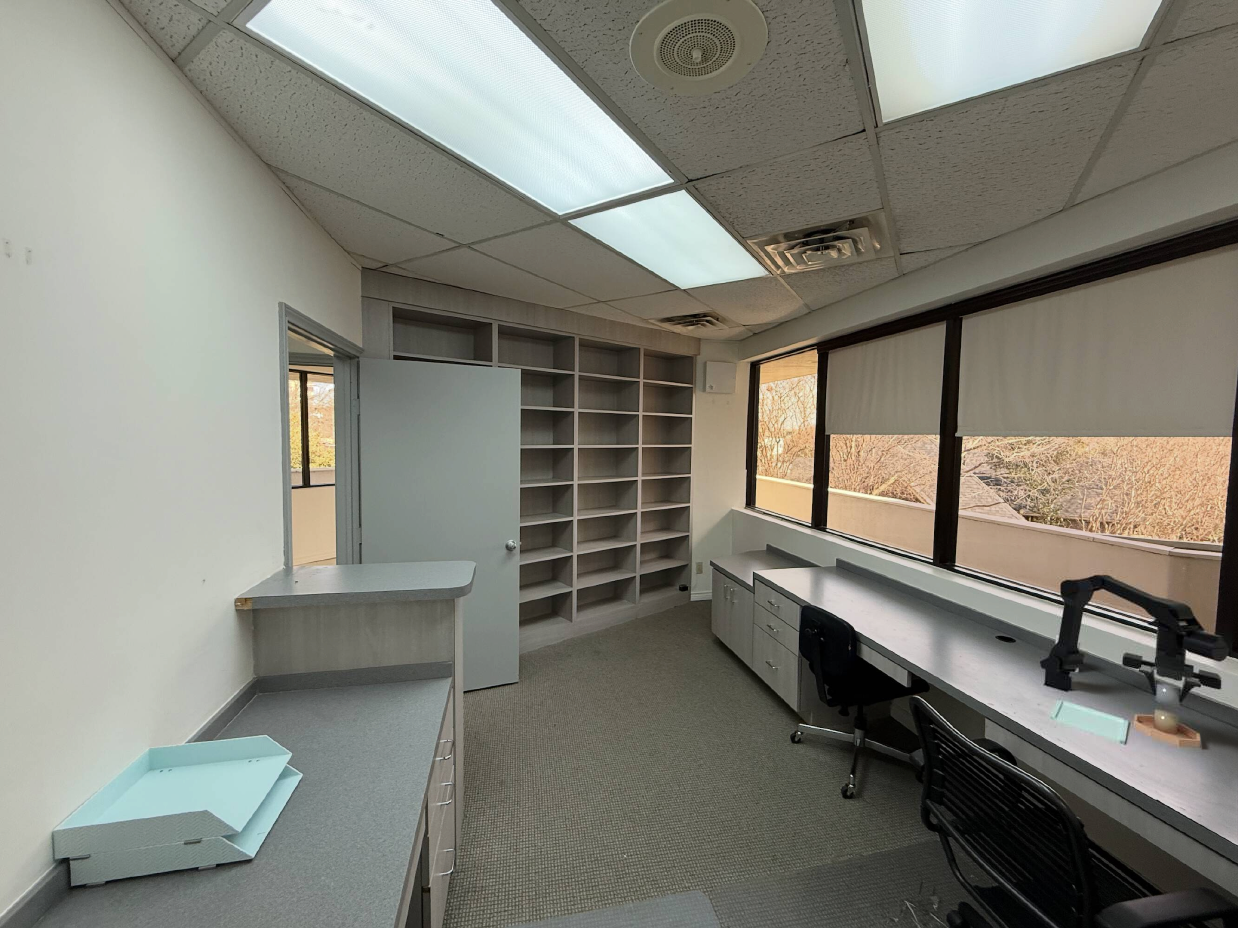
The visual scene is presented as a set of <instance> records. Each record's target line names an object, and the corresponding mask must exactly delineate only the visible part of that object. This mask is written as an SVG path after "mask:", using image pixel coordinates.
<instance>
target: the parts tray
mask: <svg viewBox="0 0 1238 928" xmlns="http://www.w3.org/2000/svg"><path fill="white" fill-rule="evenodd" d="M1049 720H1050V721H1052V722H1056V723H1059V724H1061V725H1064V726H1068V727H1071V728H1074V729H1076V730H1079V731H1083V732H1085V733H1089V734H1091V735H1094V736H1098V737H1101V738H1104V739H1107V740H1110V741H1113V742H1116V743H1119V744H1122V745H1125V744H1126V739H1127V735H1128V734H1127V733H1128V728H1129V721H1130V720H1128V719H1125V718H1122V717H1119V716H1116V715H1113V714H1108V713H1106V712H1102V711H1099V710H1097V709H1092V708H1090V707H1087V706H1083V705H1079V704H1077V703H1074V702H1070V701H1066V700H1064V699H1060V698H1058V699H1057V701H1056V703H1055V705H1054V708H1053V710H1052V712H1051V714H1050V716H1049Z"/></svg>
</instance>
